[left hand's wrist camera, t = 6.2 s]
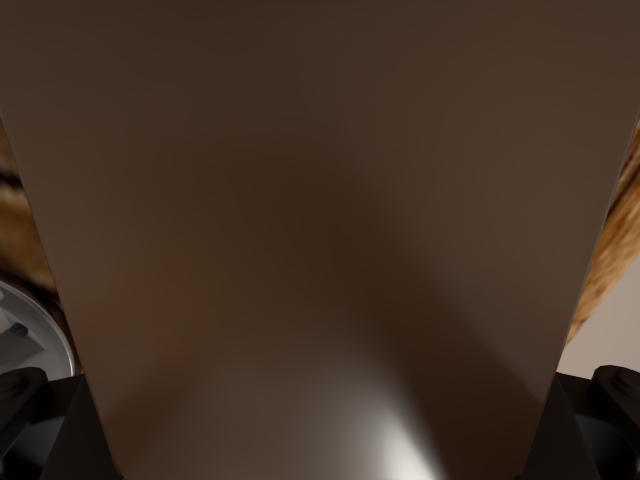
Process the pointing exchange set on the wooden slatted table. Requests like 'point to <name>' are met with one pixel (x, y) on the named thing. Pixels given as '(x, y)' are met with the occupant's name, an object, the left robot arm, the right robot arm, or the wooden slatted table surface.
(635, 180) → the wooden slatted table surface
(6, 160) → the wooden slatted table surface
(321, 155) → the box
